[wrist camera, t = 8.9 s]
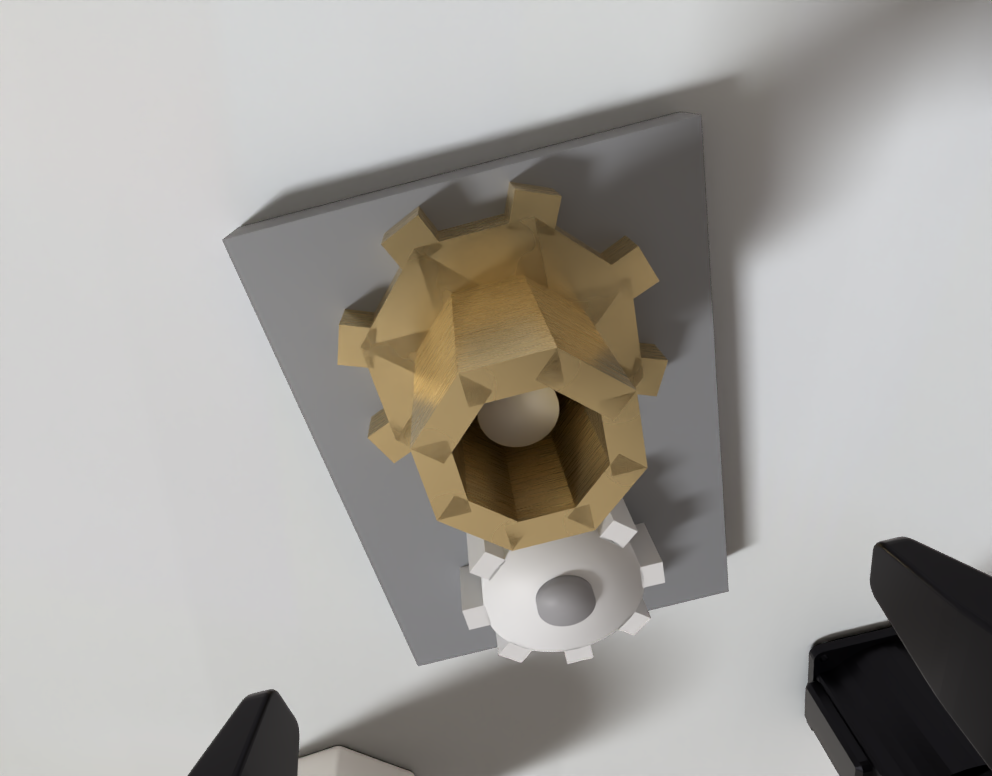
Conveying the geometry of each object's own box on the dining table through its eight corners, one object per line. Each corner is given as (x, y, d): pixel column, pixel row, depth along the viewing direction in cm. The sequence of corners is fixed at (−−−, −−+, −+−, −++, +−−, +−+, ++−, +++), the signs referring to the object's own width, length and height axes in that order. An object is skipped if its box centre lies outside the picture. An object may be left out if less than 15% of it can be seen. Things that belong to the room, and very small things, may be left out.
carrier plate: (679, 111, 17) (781, 125, 12) (713, 564, 25) (780, 680, 20) (238, 227, 17) (161, 287, 12) (418, 635, 25) (415, 766, 21)
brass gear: (631, 149, 16) (734, 186, 10) (664, 431, 20) (749, 560, 15) (299, 237, 16) (231, 318, 11) (403, 497, 20) (393, 647, 15)
